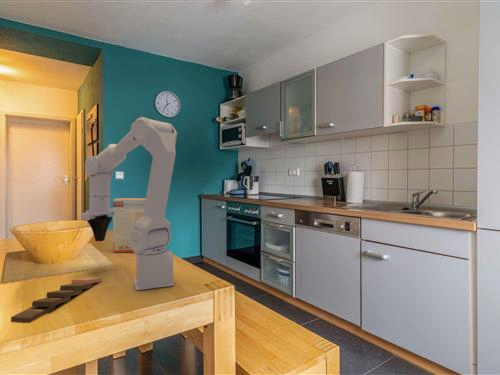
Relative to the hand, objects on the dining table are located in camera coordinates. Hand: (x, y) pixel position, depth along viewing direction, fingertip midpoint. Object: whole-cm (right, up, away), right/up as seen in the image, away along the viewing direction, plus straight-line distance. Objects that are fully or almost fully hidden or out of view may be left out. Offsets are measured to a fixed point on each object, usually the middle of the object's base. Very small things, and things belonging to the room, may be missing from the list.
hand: (99, 240), depth 93 cm
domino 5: (+3, -9, -9) cm, 13 cm away
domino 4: (+3, -9, -13) cm, 16 cm away
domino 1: (+1, -10, -26) cm, 28 cm away
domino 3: (+2, -9, -18) cm, 20 cm away
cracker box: (0, -9, +27) cm, 28 cm away
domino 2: (+2, -9, -22) cm, 24 cm away
